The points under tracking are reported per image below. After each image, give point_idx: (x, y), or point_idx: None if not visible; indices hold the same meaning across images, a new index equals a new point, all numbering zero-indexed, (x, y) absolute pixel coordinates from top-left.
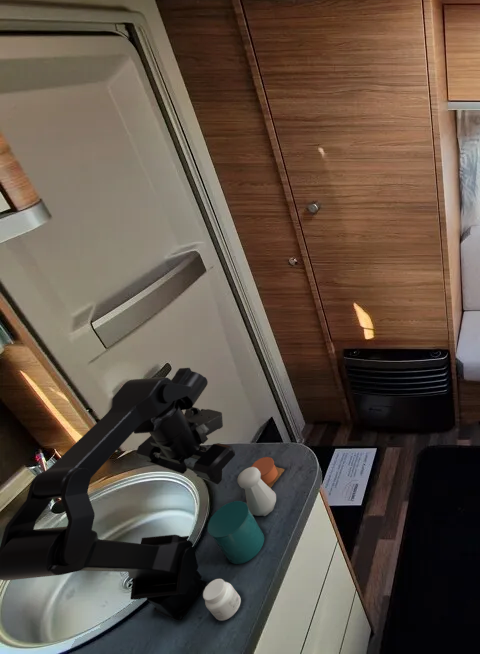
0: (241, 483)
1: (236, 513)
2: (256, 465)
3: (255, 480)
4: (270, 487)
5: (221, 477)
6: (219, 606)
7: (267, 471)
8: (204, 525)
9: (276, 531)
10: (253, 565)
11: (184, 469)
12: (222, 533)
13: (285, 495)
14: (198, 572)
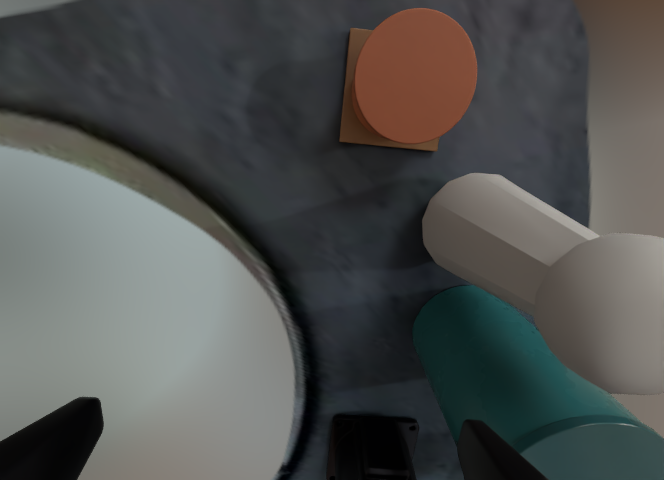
0: (633, 393)
1: (613, 475)
2: (381, 78)
3: None
4: (438, 138)
5: (508, 449)
6: None
7: (463, 104)
8: (284, 301)
9: None
10: None
11: (81, 434)
12: None
13: (512, 158)
14: (400, 441)
